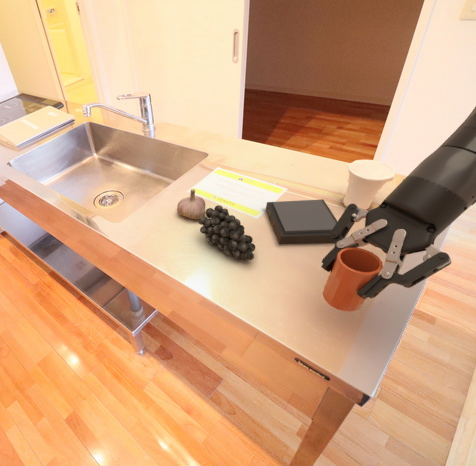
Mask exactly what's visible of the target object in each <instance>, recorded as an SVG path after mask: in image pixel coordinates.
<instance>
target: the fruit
mask: <svg viewBox="0 0 476 466" xmlns="http://www.w3.org/2000/svg"><path fill="white" fill-rule="evenodd" d="M197 223H198V224H199V225H201V227H200V229H199V231H200V233H201V234H204V237H205V238H206V239H208V244H209V245H210V246H216V245H217V248H219V249H220V250H221V249H223V250H222V251H223V253H225V255H231V254H232V256H233V257H234V258H236V259H239V258H241V259H242V260H243V261H252V260H254V258H255V254H254V252H255V251H256V245H255V244H254V243H253V240H254V238H253V237H252V236H251V235H248V234H245V226H244V225H243V224H242V223H241V220H240V219H238V218H236V216H235V215H233V214H231V215H230V214H229V210H228V208H223V206H222V205H219V204H218V205H215V206H214V208H211V207H209V208H207V209H205V216H204V217H201V218H199V219H197Z"/></svg>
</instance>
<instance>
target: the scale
mask: <svg viewBox="0 0 476 466" xmlns="http://www.w3.org/2000/svg"><path fill="white" fill-rule="evenodd" d="M265 213H266V214H267V217H268V220H269V222H270V224H271V227H272V229H273V232H274V235H275V237H276V239H277V242H278V244H279V245H303V244H305V245H306V244H307V245H308V244H311V245H312V244H335V242H334V241H333V239H332V238H331V237H330V232H331V231H332V229H333V228H334V226H335V225H336V223H337V222H338V220H337V218H336V216H335V215H334V213H333V212H332V210H331V209H330V207H329V206H328V204H327V203H326V202H325V200H324V199H306V200H305V199H304V200H284V201H283V200H282V201H267V202H266V206H265Z"/></svg>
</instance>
